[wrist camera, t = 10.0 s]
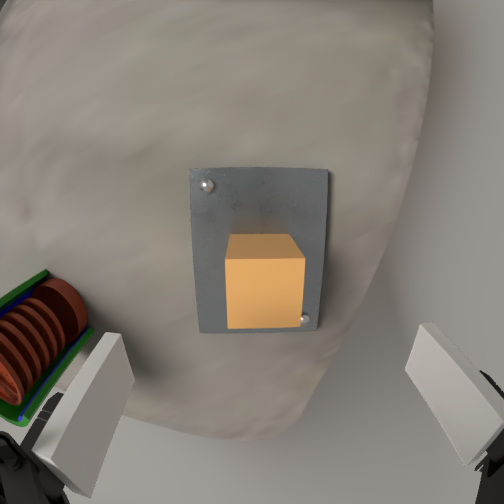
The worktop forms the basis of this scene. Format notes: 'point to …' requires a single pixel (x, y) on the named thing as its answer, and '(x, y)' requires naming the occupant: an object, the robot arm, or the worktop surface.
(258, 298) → the orange block
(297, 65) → the worktop surface
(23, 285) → the motor
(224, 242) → the plate
